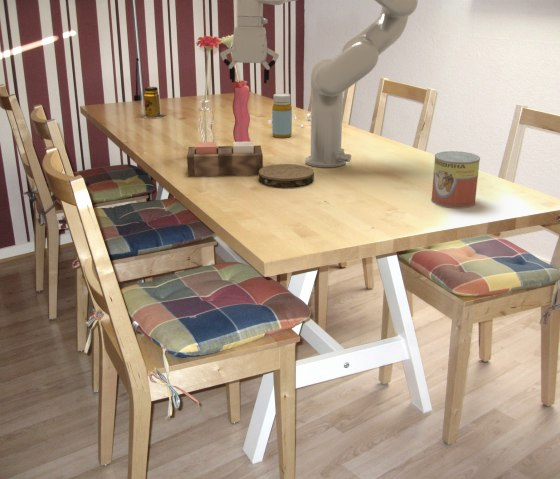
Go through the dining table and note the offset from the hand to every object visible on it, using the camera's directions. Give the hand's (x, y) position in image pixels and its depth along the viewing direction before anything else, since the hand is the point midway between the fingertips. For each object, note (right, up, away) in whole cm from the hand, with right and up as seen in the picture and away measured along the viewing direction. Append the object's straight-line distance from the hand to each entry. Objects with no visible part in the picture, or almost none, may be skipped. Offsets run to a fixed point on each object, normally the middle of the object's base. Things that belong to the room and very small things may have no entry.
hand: (249, 82), depth 208 cm
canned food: (+54, -37, -26) cm, 71 cm away
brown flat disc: (+11, -30, -8) cm, 33 cm away
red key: (-13, -24, +1) cm, 27 cm away
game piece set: (+14, -2, +67) cm, 69 cm away
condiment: (-43, +4, +81) cm, 92 cm away
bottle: (+10, -10, +46) cm, 48 cm away
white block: (-2, -23, +2) cm, 23 cm away
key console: (-7, -26, +2) cm, 27 cm away
